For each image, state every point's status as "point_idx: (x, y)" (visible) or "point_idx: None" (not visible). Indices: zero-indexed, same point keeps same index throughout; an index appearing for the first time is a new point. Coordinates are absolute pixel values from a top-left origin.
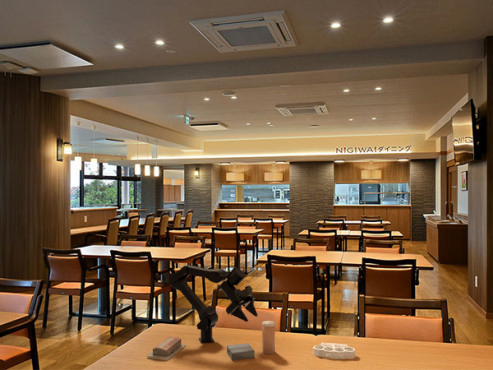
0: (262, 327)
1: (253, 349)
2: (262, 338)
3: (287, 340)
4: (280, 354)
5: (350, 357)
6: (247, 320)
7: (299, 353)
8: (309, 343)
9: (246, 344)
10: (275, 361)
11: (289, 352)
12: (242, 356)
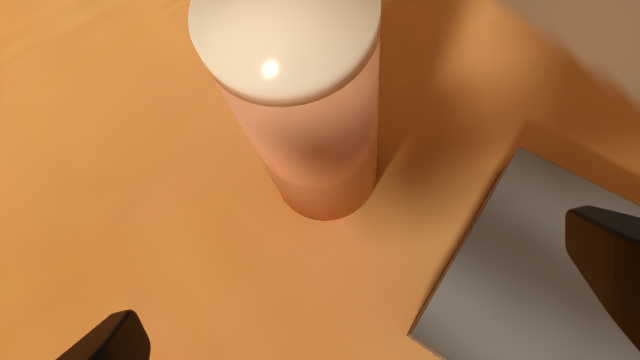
0: (365, 85)
1: (503, 175)
2: (363, 155)
3: (16, 225)
4: None
5: None
6: (593, 210)
7: None
8: (11, 75)
9: (454, 323)
10: (437, 32)
11: None
12: None
